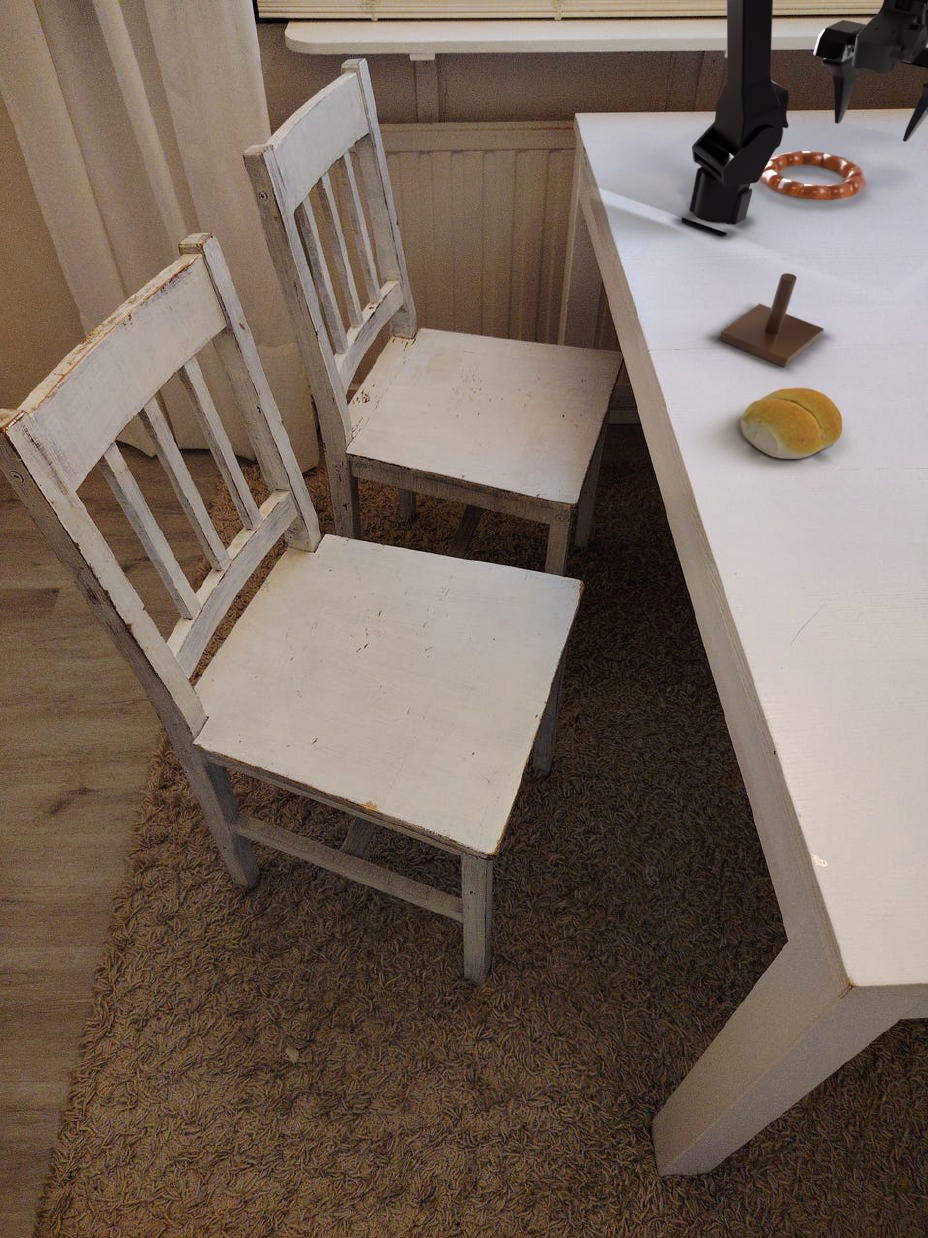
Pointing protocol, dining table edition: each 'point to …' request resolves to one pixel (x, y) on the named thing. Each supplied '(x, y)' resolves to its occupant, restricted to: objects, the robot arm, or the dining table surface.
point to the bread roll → (792, 423)
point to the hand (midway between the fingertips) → (871, 131)
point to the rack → (773, 329)
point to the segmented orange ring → (818, 192)
